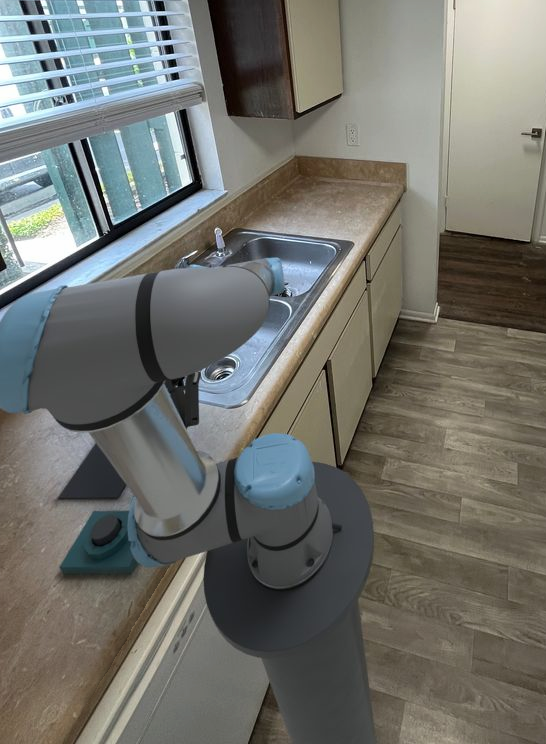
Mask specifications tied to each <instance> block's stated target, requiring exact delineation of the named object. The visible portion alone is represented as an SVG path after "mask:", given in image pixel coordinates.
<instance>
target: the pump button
mask: <svg viewBox="0 0 546 744" xmlns="http://www.w3.org/2000/svg"><path fill="white" fill-rule="evenodd" d="M120 528H121V525H120V523H119V521H118V519H117V517H116V516H115V515H112V514H110V515H106V516H104V517H102V518H101V519H99V520H98V521H97V522H96V523H95V524H94V526H93V528H92V530H91V537H92V539H93V540H94V542H95V544H96V545H99V546H103V545H106V544H108V543H110V542H111V541H112V540H114V539H115V538H116V536H117V535H118V533H119V531H120Z"/></svg>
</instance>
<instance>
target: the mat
mask: <svg viewBox="0 0 546 744" xmlns="http://www.w3.org/2000/svg"><path fill="white" fill-rule="evenodd" d="M126 486H127V485H126V483H125V482H124V481H123V479H122V478H121V477H120V475H119V474H118V472H117V471H116V470H115V468H114V467H113V466H112V464H111V463H110V461H109V460H108V459H107V457H106V456H105V455H104V453H103V452H102V450H101V449H100V448H99V446H98V445H97V444H96V443H95V444H94V445H93V446H92V447H91V449H90V451H88V454H87V455H86V456H85V458H84V460H83V461H82V462H81V464H80V465H79V467H78V468H77V469H76V471H75V472H74V473H73V475H72V477H71V478H70V479H69V481H68V482H67V484H66V486H65V487H64V488H63V490H62V491H61V492H60V494H59V495H58V497H57V499H58V500H96V499H97V500H102V499H103V500H104V499H105V500H111V499H115V500H117V499H119V498H120V497H121V495H122V493H123V491H124V489H125V488H126Z"/></svg>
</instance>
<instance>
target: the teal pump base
mask: <svg viewBox="0 0 546 744" xmlns="http://www.w3.org/2000/svg"><path fill="white" fill-rule="evenodd" d="M110 514H112V515H115V516H116V517H117V519H118V521H119V523H120V525H121V528H120V531H119V533H118V535H117V536H116V538H115V539H114V540H112V541H111V542H110V543H108V544H106V545H103V546H99V545H96V544H95V542H94V540H93V539H92V537H91V530H92V528H93V526H94V524H95V523H96V522H97V521H98V520H99V519H101V518H102V517H104V516H106V515H110ZM128 515H129V510H92V512H91V514H90V516H89V517H88V519H87V521H86V522H85V524H84V526H83V527H82V529H81V531H80V532H79V534H78V536H77V537H76V539H75V540H74V542H73V544H72V545H71V547H70V548H69V551H68V552H67V553H66V555H65V557H64V558H63V560H62V562H61V563H60V565H59V567H58V568H59V570H60V572H61V573H62V574H63V575H133V574H134V572H135V570H136V567H137V565H138V564H139V563H138V562H137V561H136V560H135V558H134V556H133V554H132V552H131V549H130V547H131V541H129V540H128Z"/></svg>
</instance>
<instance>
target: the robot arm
mask: <svg viewBox="0 0 546 744" xmlns="http://www.w3.org/2000/svg"><path fill="white" fill-rule="evenodd" d="M285 290H286V285H285V276H284V269H283V263H282V260H281V258H279V257H276V256H275V257H263V258H261V259H254V260H248V261H243V262H237V263H232V264H224V265H217V266H211V267H207V266H203V265H199V264H194V263H193V264H190V265H189V266H188V267H185V268H183V267H181V268H172V269H166V270H161V271H156V272H150V273H149V272H148V273H142V274H138V275H131V276H126V277H125V276H124V277H119V278H113V279H108V280H103V281H97V282H91V283H86V284H79V285H74V286H68V285H67V284H63V285H59V286H58V287H56V288H52V289H47V290H42V291H37V292H32V293H29V294H27V295H24V296H22V297H20V298H19V299H18V300H16V301H15V302H14V303H12V305H10V307H9V308H8V309H7V310H6V311H5V312H4V314H3V316H2V317H1V319H0V409H1V410H3V411H4V412H6V413H8V414H20V413H22V414H24V415H27V414H31V413H32V412H34V411H37V410H40V409H45V410H47V411H48V412H49V414H50V415H51V417H52V418H53V419H54V420H55V421H56V423H58V425H59V426H60V427H62V428H63V429H65V430H68V431H70V432H73V433H80V434H81V433H83V434H84V433H85V434H87V433H88V434H89V435H90V437H91V438H92V439H93V441H94V443H95V444H97V445H98V446H99V448H100V449H101V450H102V452H103V453H104V455H105V456H106V457H107V459H108V460H109V461H110V463H111V464H112V466H113V467H114V468H115V470H116V471H117V472H118V474H119V475H120V477H121V478H122V479H123V481H124V482H125V483H126V486H127V488H128V489H129V491H130V492H131V493H132V494H133V497H132V500H131V503H130V506H129V510H128V511H129V515H128V540H129V541H131V547H130V549H131V552H132V554H133V556H134V558H135V560H136V561H137V562H138V563H137V564H139V565H140V566H142V567H144V568H149V569H150V568H157V567H161V566H165V567H166V566H170V565H172V564H174V563H176V562H178V561H180V560H184V559H187V558H189V557H193V556H196V555H198V554H202V553H205V552H206V553H207V551H209V550H212V549H215V548H219V547H222V546H225V545H228V544H231V543H234V542H237V541H240V540H244V539H247V538H248V541H247V559H248V564H249V567H250V570H251V572H252V574H253V576H254V578H255V579H256V580H257V582H258V583H259V584H261V585H262V586H263V587H265V588H267V589H269V590H272V591H289V590H293V589H296V588H298V587H300V586H302V585H304V584H305V583H307V582H308V581H309V580H311V579H312V578H313V577H314V576H315V575H316V574H317V573H318V572H319V571H320V569H321V568H322V566H323V565H324V563H325V562H326V560H327V558H328V556H329V553H330V550H331V547H332V542H333V529H337V530H341V529H342V525H338V524H333V523H332V518H331V515H330V513H329V510H328V508H327V506H326V505H325V503H324V502H323V501H322V500H321V499H320V498H319V497H317V491H316V486H315V481H314V466H313V464H312V462H313V461H312V459H311V456H310V453H309V451H308V449H307V447H306V446H305V444H304V443H303V442H302V441H301V440H300V439H297V438H296V437H295V436H293V435H291V434H288V433H282V432H281V433H280V432H275V433H268V434H265V435H264V434H263V435H262V436H259V437H257V438H255V439H253V440H252V441H251V442H250V443H249V446H246V447H244V448H243V450H241V452H240V454H239V456H238V457H235V458H231V459H227V460H223V461H219V462H216V461H215V460H214V459H213V457H211V456H210V455H209V454H208V453H206V452H204V451H201V450H197V448H196V446H195V444H194V442H193V440H192V438H191V436H190V434H189V432H188V428H190V427H195V426H196V427H197V426H198V425H199V423H200V394H199V390H200V389H199V387H200V386H199V384H200V379H201V376H202V373H201V371H202V370H205V369H207V368H209V367H212V366H213V365H215V364H216V363H218V362H220V361H221V360H223V359H225V358H227V357H228V356H229V355H231V354H232V353H234V352H236V351H237V350H238V349H240V348H241V347H242V346H244V344H246V343H247V342H248V341H250V340H251V339H252V338H253V337H254V336H255V335H256V333H258V332H259V330H260V329H261V328H262V326H263V325H264V322H265V321H266V319H267V317H268V313H269V311H270V310H269V309H270V306H271V305H270V303H271V299H270V298H271V297H273V296H275V295H279V294H283V293H284V291H285Z"/></svg>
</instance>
